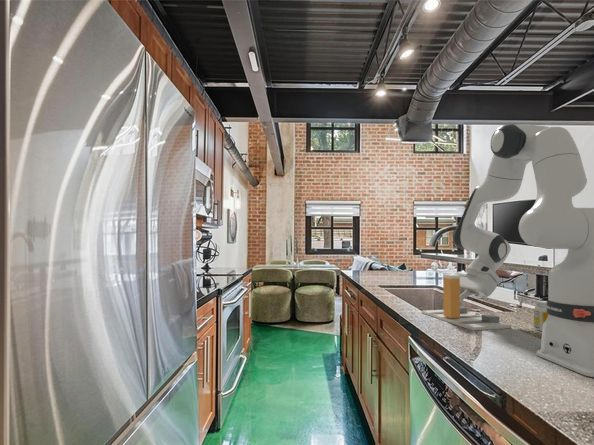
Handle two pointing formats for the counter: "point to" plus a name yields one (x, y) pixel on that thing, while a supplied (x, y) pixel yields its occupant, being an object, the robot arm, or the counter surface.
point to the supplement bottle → (540, 315)
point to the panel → (470, 320)
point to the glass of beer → (451, 295)
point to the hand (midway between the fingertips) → (457, 299)
